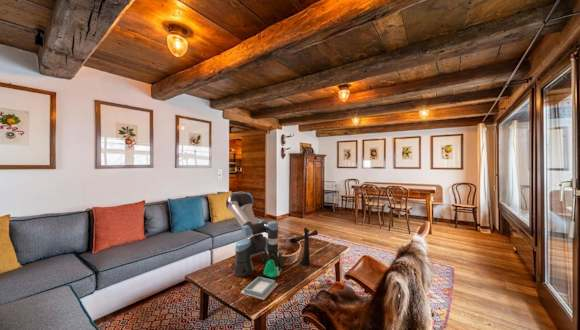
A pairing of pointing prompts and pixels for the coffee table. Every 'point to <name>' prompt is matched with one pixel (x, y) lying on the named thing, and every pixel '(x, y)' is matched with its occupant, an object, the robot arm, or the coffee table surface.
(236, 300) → the coffee table surface
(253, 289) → the dock
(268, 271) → the camera mount
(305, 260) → the flared trumpet-armed statue
